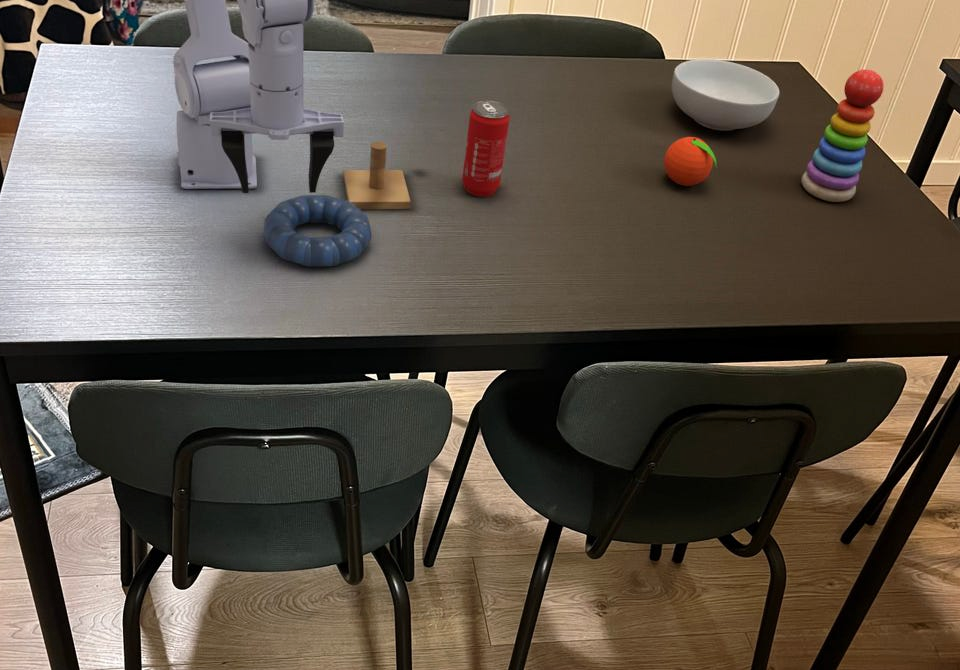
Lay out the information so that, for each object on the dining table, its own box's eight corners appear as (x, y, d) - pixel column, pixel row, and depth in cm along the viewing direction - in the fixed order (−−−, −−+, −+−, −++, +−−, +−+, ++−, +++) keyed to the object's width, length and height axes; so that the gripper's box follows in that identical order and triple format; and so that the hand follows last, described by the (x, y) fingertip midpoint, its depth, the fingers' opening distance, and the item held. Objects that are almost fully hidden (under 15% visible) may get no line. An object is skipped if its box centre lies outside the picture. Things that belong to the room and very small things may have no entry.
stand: (348, 209, 124) (350, 160, 120) (343, 177, 130) (344, 129, 126) (410, 209, 126) (413, 161, 121) (401, 177, 132) (405, 130, 127)
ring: (266, 273, 112) (265, 249, 110) (263, 213, 121) (262, 190, 119) (375, 270, 115) (376, 247, 113) (364, 212, 124) (365, 189, 122)
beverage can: (471, 201, 129) (482, 120, 122) (455, 181, 133) (464, 102, 125) (505, 195, 131) (517, 115, 124) (488, 176, 135) (499, 97, 127)
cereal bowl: (780, 120, 160) (794, 81, 156) (745, 156, 149) (759, 114, 144) (688, 86, 166) (698, 48, 162) (647, 118, 155) (658, 77, 150)
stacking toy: (856, 187, 145) (905, 71, 133) (848, 210, 139) (899, 91, 127) (805, 171, 147) (848, 55, 135) (795, 193, 141) (839, 74, 130)
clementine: (721, 188, 140) (734, 145, 135) (694, 203, 136) (708, 159, 131) (676, 165, 144) (688, 122, 139) (649, 179, 140) (661, 135, 135)
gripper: (206, 95, 99) (214, 207, 108) (347, 97, 102) (344, 206, 111) (207, 66, 104) (215, 175, 113) (341, 69, 108) (338, 174, 116)
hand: (279, 188), depth 112 cm, fingers open, 7 cm apart
